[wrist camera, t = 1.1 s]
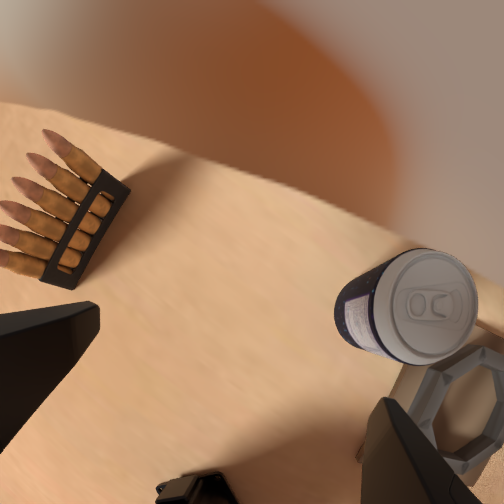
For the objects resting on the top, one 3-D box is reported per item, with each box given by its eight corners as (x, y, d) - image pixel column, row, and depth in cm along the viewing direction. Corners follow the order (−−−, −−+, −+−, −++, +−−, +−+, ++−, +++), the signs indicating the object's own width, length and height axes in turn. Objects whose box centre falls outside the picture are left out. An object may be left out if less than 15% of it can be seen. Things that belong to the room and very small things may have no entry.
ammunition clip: (73, 290, 26) (-24, 270, 15) (61, 280, 27) (-34, 256, 15) (131, 190, 28) (58, 121, 16) (117, 182, 28) (44, 114, 16)
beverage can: (396, 349, 23) (480, 366, 12) (328, 346, 24) (372, 370, 12) (401, 279, 24) (484, 247, 13) (334, 274, 25) (381, 236, 13)
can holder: (527, 353, 22) (549, 354, 18) (468, 482, 20) (485, 496, 16) (427, 304, 24) (446, 302, 20) (355, 457, 22) (365, 475, 18)
